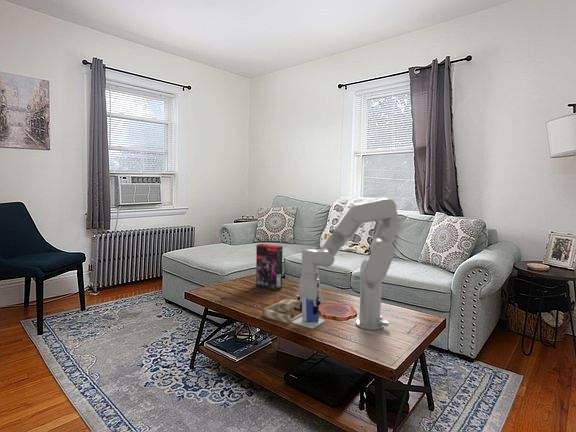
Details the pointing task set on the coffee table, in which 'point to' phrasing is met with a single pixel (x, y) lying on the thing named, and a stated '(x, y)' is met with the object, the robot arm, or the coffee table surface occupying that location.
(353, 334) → the coffee table surface
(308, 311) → the walkman
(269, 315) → the rack
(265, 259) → the graphics card box
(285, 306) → the offcut upper
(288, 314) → the offcut lower
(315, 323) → the mat
